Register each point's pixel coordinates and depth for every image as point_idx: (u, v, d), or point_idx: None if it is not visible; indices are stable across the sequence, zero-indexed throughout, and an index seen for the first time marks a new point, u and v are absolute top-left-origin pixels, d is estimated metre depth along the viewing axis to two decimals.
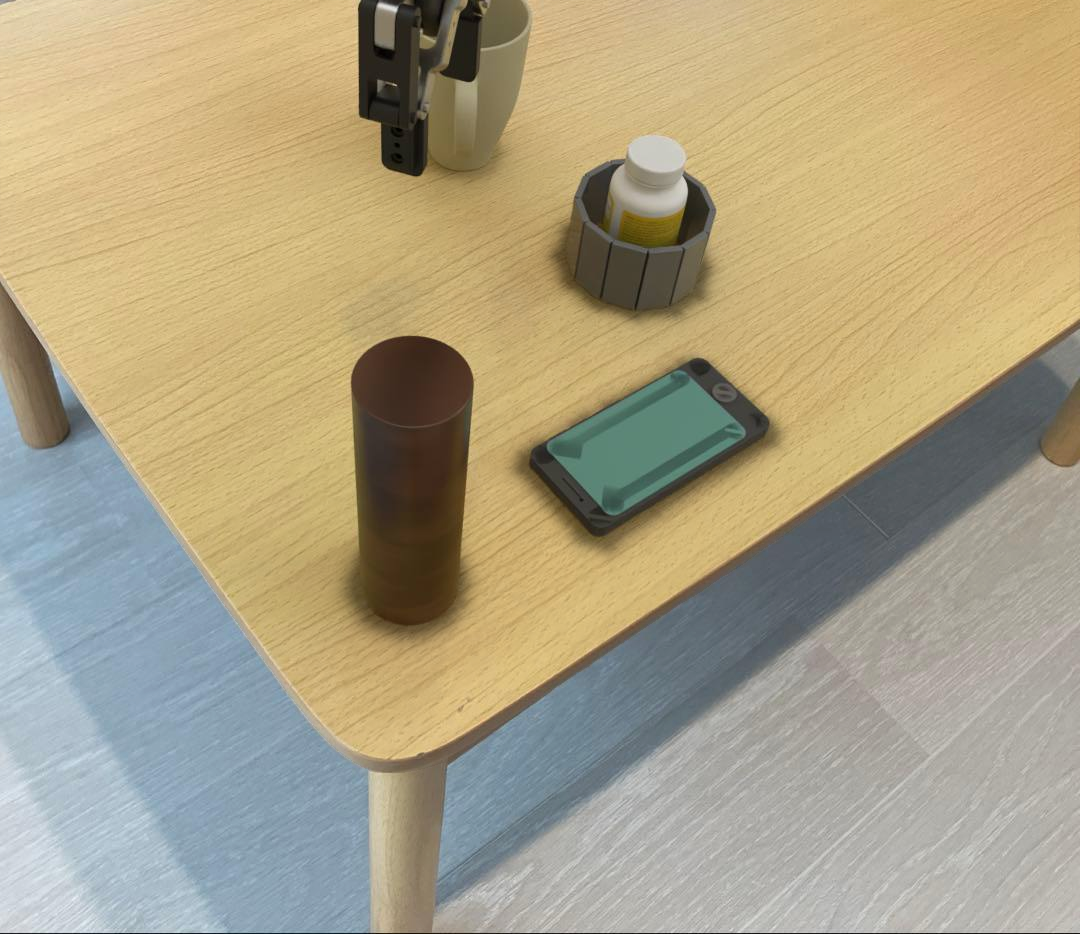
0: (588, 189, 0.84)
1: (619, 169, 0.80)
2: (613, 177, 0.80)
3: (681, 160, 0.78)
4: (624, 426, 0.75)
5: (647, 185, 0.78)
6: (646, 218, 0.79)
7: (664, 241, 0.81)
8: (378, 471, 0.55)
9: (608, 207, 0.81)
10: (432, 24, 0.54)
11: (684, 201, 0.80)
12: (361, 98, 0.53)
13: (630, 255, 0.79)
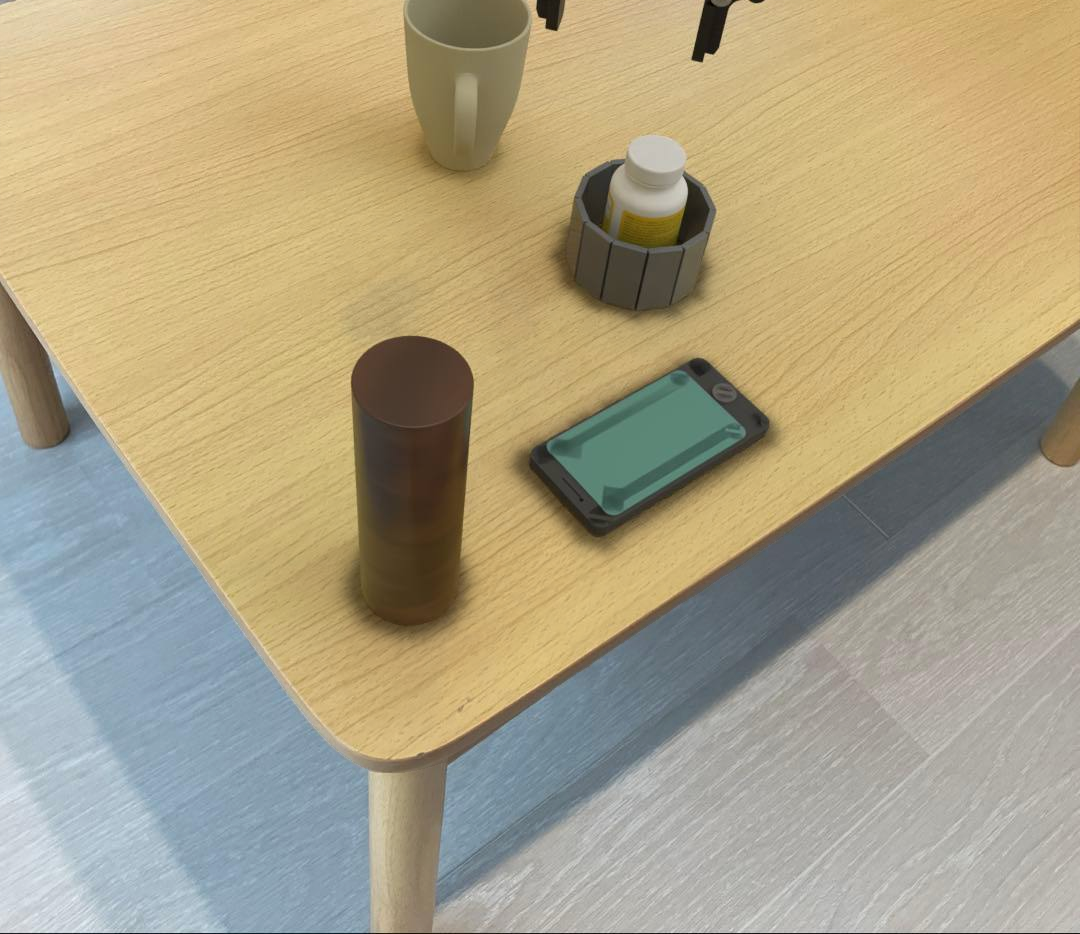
0: (588, 189, 0.84)
1: (619, 169, 0.80)
2: (613, 177, 0.80)
3: (681, 160, 0.78)
4: (624, 426, 0.75)
5: (647, 185, 0.78)
6: (646, 218, 0.79)
7: (664, 241, 0.81)
8: (378, 471, 0.55)
9: (608, 207, 0.81)
10: None
11: (684, 201, 0.80)
12: None
13: (630, 255, 0.79)
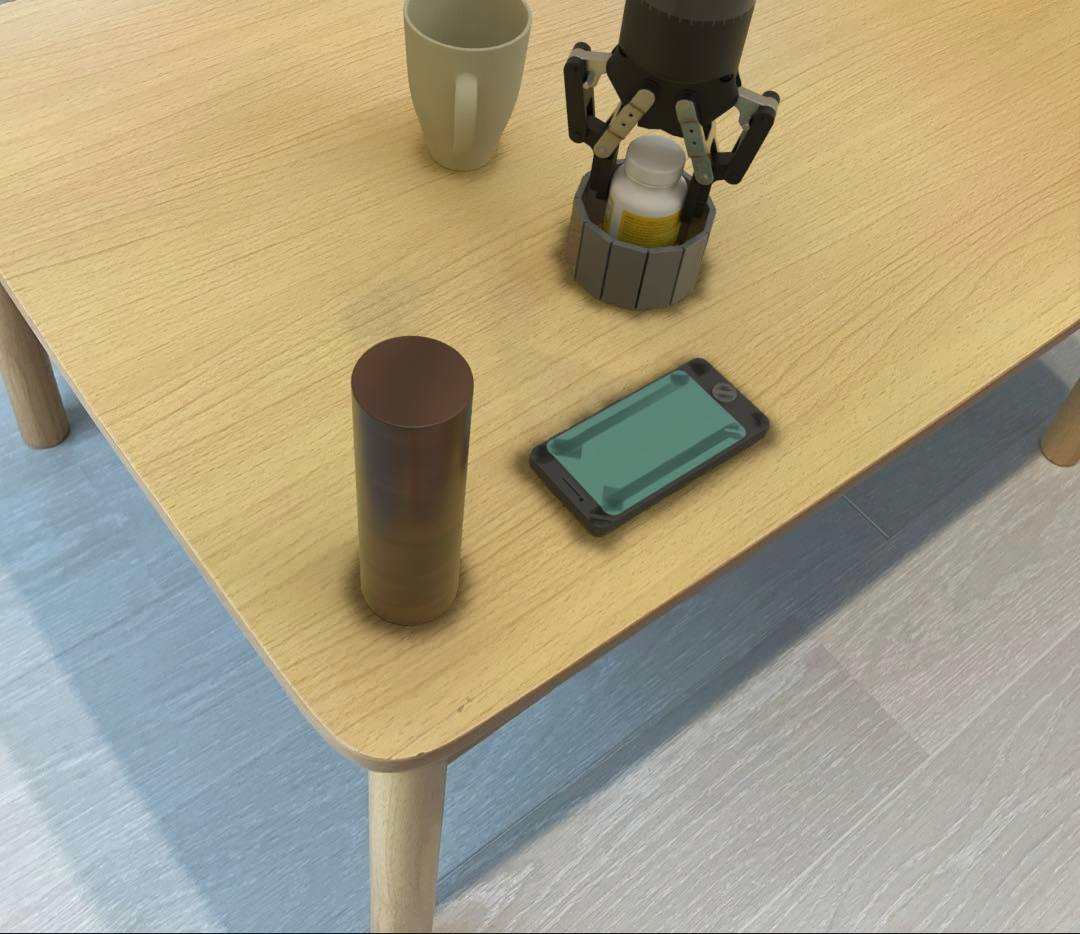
0: (588, 189, 0.84)
1: (619, 169, 0.80)
2: (613, 177, 0.80)
3: (681, 160, 0.78)
4: (624, 426, 0.75)
5: (647, 185, 0.78)
6: (645, 218, 0.79)
7: (664, 241, 0.81)
8: (378, 471, 0.55)
9: (608, 207, 0.81)
10: (620, 99, 0.75)
11: (684, 201, 0.80)
12: None
13: (630, 255, 0.79)
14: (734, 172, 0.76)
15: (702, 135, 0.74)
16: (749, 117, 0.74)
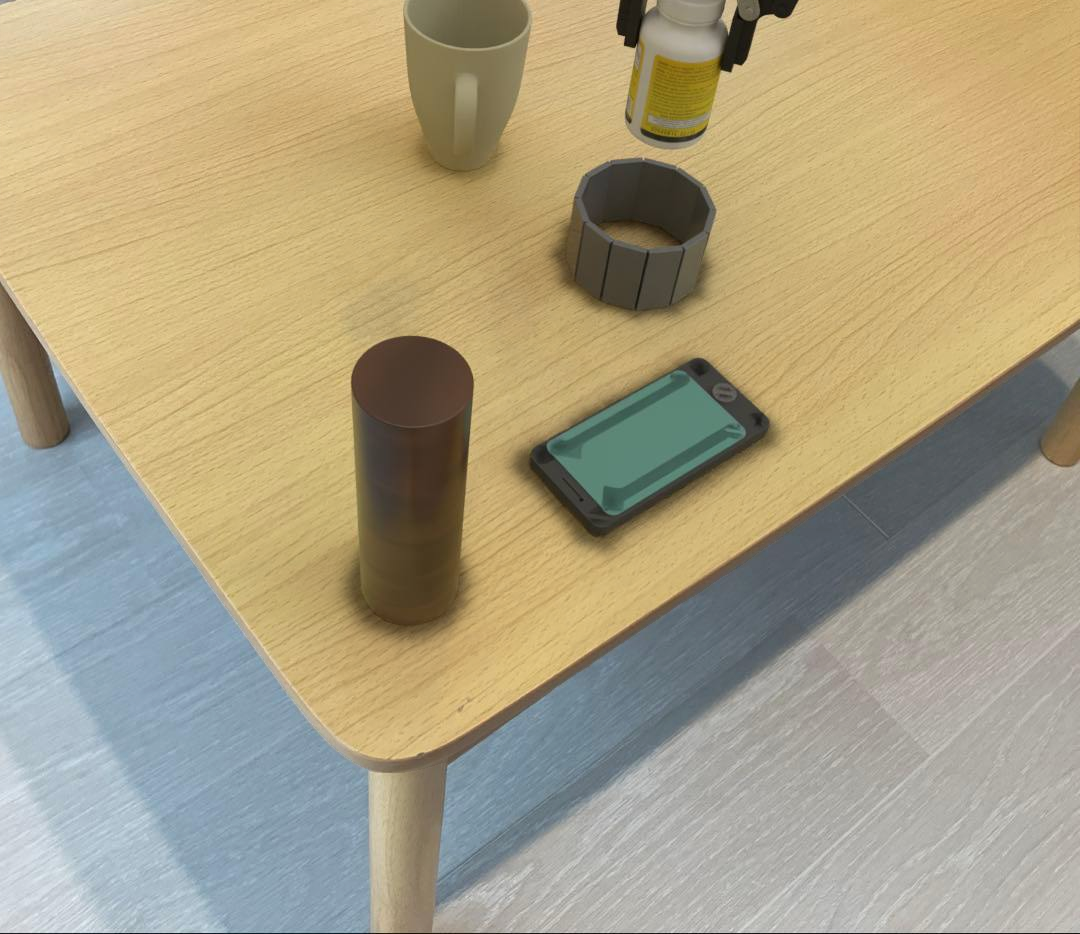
0: (588, 189, 0.84)
1: (650, 10, 0.71)
2: (643, 19, 0.71)
3: None
4: (624, 426, 0.75)
5: (683, 23, 0.68)
6: (681, 62, 0.70)
7: (701, 94, 0.72)
8: (378, 471, 0.55)
9: (638, 55, 0.72)
10: None
11: (724, 45, 0.70)
12: None
13: (630, 255, 0.79)
14: (784, 1, 0.66)
15: None
16: None
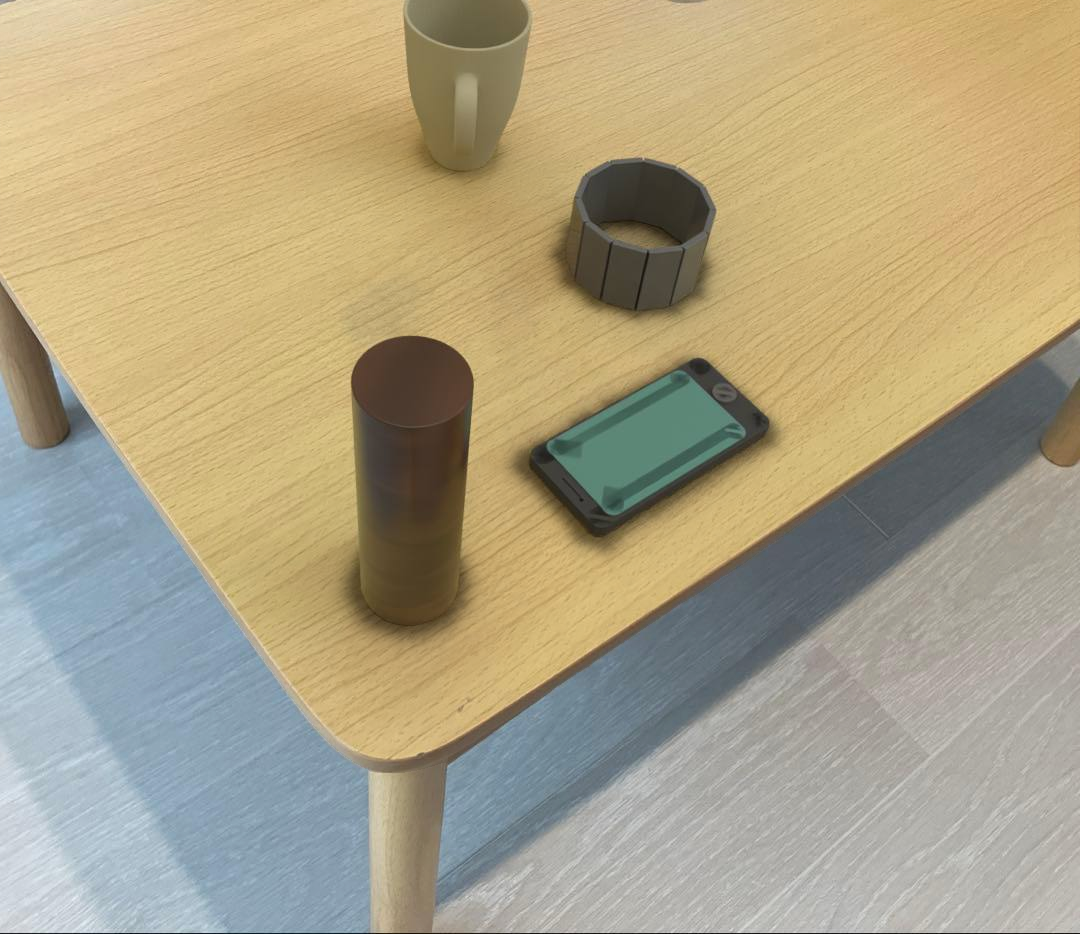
0: (588, 189, 0.84)
1: None
2: None
3: None
4: (624, 426, 0.75)
5: None
6: None
7: None
8: (378, 471, 0.55)
9: None
10: None
11: None
12: None
13: (630, 255, 0.79)
14: None
15: None
16: None
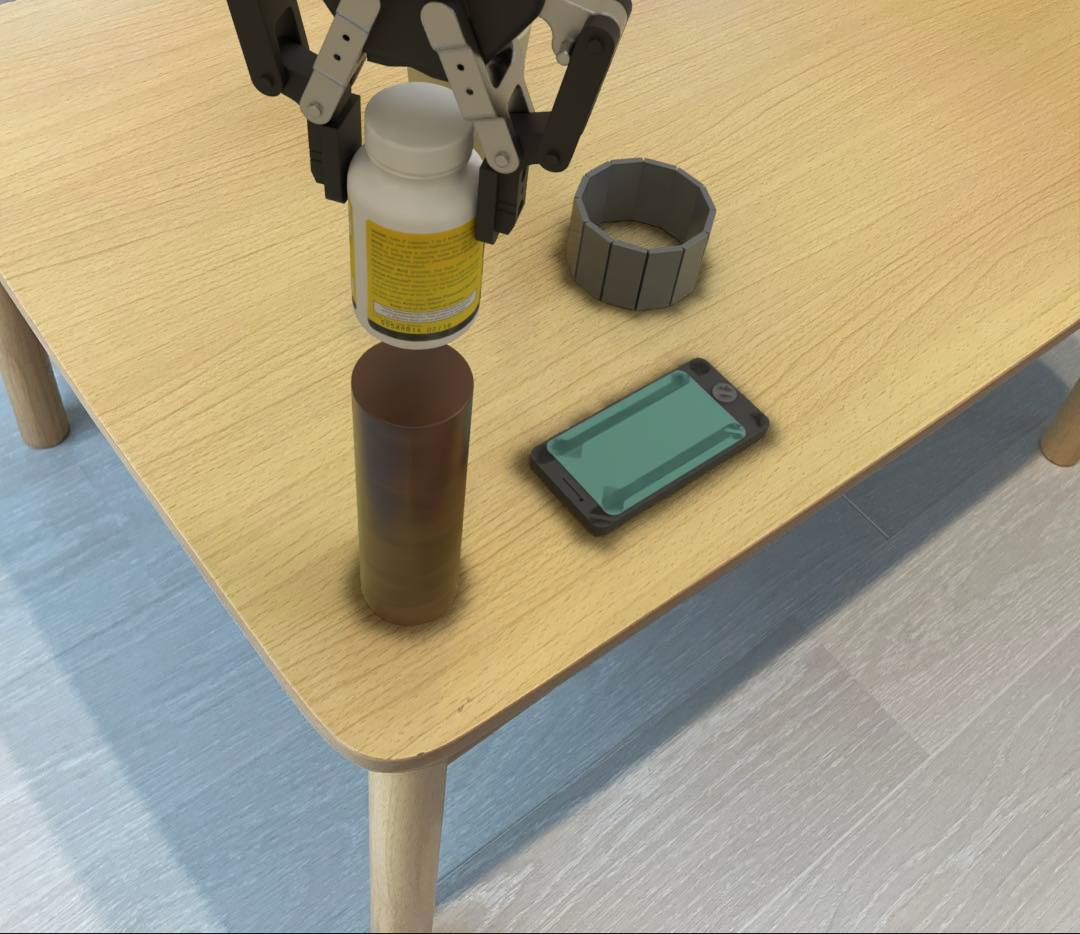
0: (588, 189, 0.84)
1: (363, 146, 0.44)
2: (351, 160, 0.44)
3: (464, 128, 0.42)
4: (624, 426, 0.75)
5: (401, 174, 0.42)
6: (405, 234, 0.43)
7: (449, 275, 0.45)
8: (378, 471, 0.55)
9: (348, 214, 0.45)
10: (328, 8, 0.39)
11: None
12: None
13: (630, 255, 0.79)
14: (554, 148, 0.40)
15: (483, 76, 0.38)
16: (571, 39, 0.38)
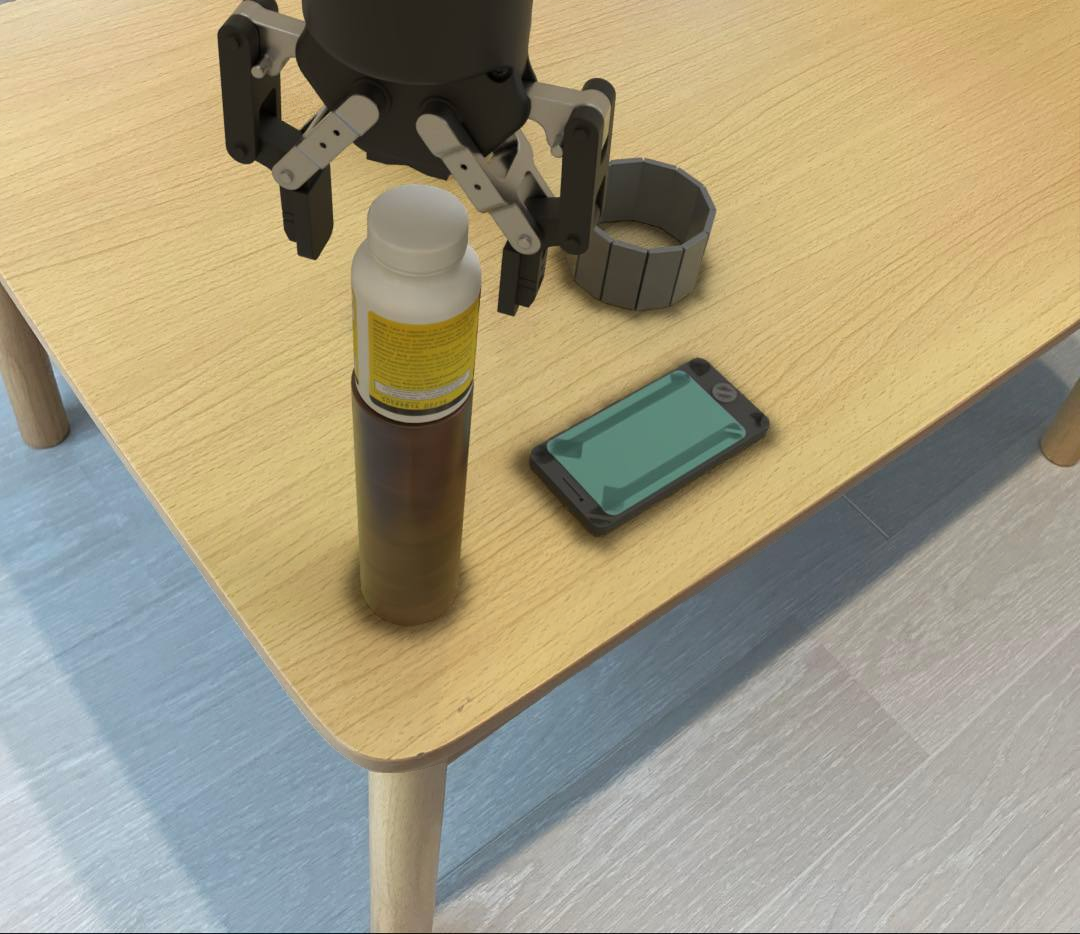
0: None
1: (366, 241, 0.48)
2: (355, 254, 0.48)
3: (458, 229, 0.46)
4: (624, 426, 0.75)
5: (401, 271, 0.46)
6: (404, 324, 0.47)
7: (445, 359, 0.49)
8: (378, 471, 0.55)
9: (352, 302, 0.49)
10: None
11: (472, 295, 0.48)
12: None
13: (630, 255, 0.79)
14: (571, 233, 0.43)
15: (485, 170, 0.41)
16: (562, 133, 0.40)
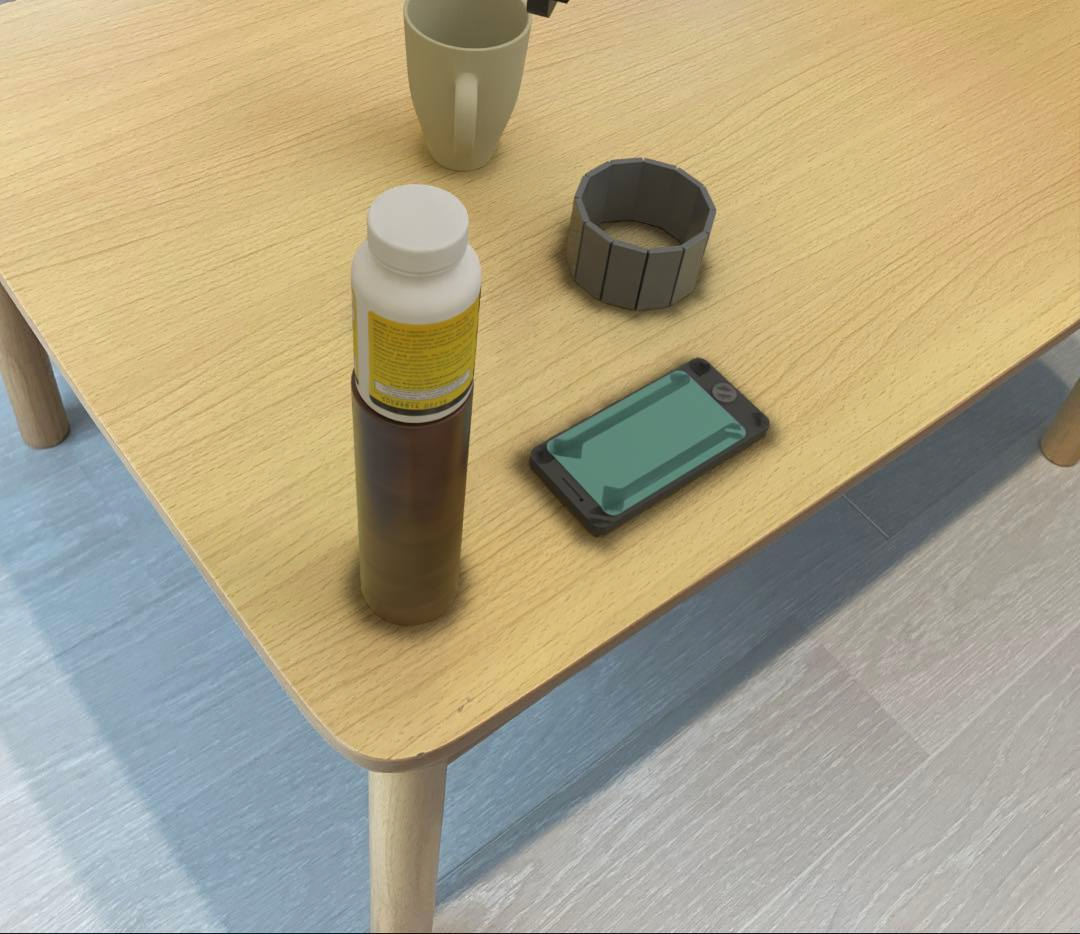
0: (588, 189, 0.84)
1: (366, 241, 0.48)
2: (355, 254, 0.48)
3: (458, 229, 0.46)
4: (624, 426, 0.75)
5: (401, 271, 0.46)
6: (404, 324, 0.47)
7: (445, 359, 0.49)
8: (378, 471, 0.55)
9: (352, 302, 0.49)
10: None
11: (472, 295, 0.48)
12: None
13: (630, 255, 0.79)
14: None
15: None
16: None
